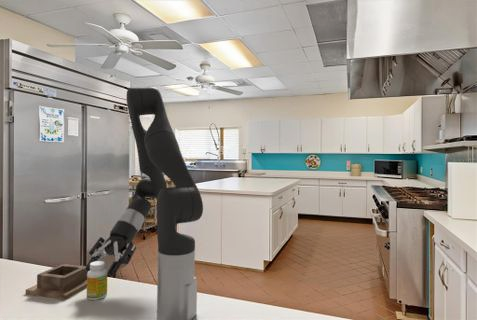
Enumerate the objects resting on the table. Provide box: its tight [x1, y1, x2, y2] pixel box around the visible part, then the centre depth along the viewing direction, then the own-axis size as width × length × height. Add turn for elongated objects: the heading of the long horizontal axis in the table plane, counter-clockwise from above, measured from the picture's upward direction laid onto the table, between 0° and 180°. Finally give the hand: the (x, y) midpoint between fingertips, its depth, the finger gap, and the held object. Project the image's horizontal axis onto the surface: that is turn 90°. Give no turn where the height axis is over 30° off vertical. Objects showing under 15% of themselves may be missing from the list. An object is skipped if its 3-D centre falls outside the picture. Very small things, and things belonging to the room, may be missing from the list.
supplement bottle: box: [86, 260, 108, 301], centre depth 85 cm, size 5×5×10 cm
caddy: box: [25, 263, 89, 300], centre depth 91 cm, size 14×13×5 cm
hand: (98, 272), depth 86 cm, fingers open, 8 cm apart
